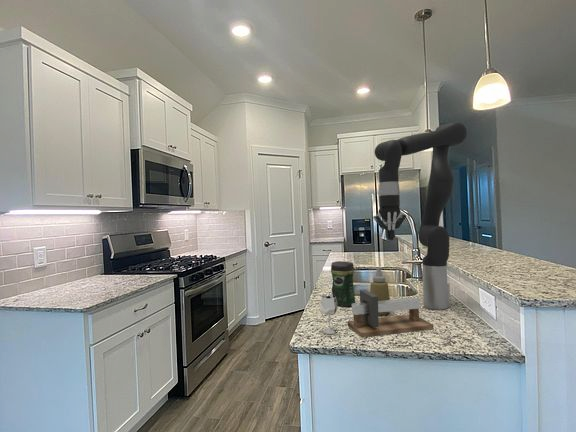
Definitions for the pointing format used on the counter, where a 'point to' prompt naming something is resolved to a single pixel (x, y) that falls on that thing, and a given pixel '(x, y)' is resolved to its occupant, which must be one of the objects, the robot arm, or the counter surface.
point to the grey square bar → (387, 305)
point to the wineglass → (329, 309)
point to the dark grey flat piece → (370, 308)
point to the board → (390, 324)
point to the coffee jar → (343, 282)
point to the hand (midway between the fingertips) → (390, 239)
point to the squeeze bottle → (380, 288)
